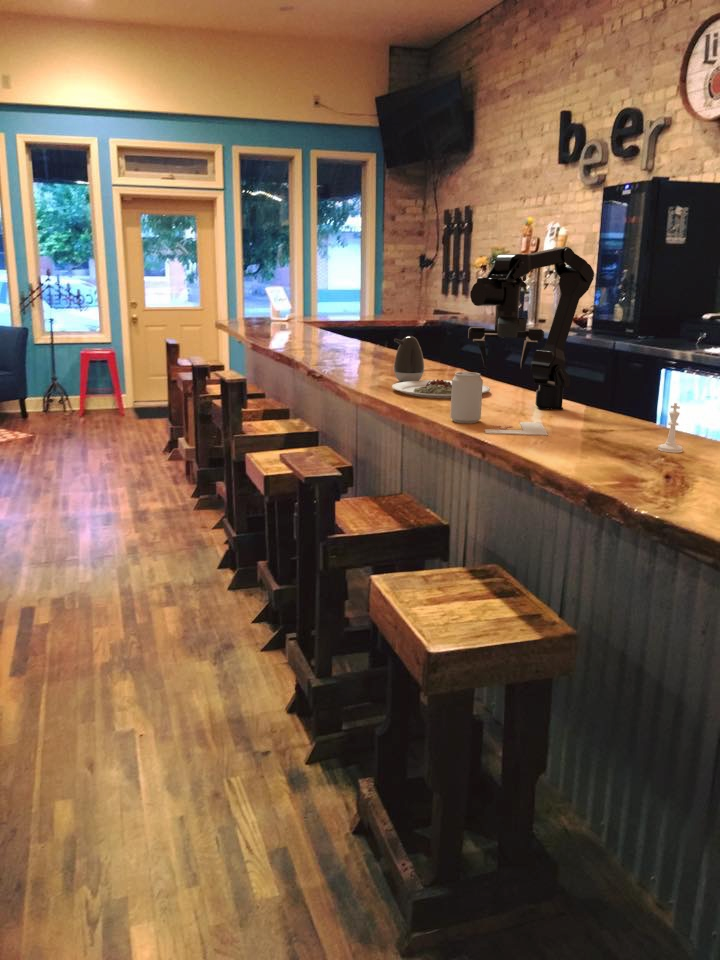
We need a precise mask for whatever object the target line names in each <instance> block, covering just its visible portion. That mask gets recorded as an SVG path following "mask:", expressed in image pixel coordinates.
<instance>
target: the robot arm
mask: <svg viewBox="0 0 720 960" xmlns="http://www.w3.org/2000/svg"><path fill="white" fill-rule="evenodd" d="M553 265H554V272H555V274H557V276H558V277H559V281H558V287H559V290H560V297H559V301H558V303H557V307H556V310H555V313H554V316H553V320H552V323H551V326H550V329H549V332H548V335H547V339H546V342H545V345H544V346H543V348H541V349H536V350H535V351H534V353H533V358H532V360H531V362H530V365H531V367H530V372H531V374H532V376H531V377H532V380H533V384H534V385H538V389H536V391H535V402H534V403H535V406H536V407H537V408H538V410H558V411H561V410H562V411H563V410H564V407H563V401H564V400H563V398H564V389H566V388H569V387H570V384H571V381H572V380H571V379H572V378H570V376H569V374H568V373H567V371H566V369H565V367H566V363H567V362H566V357H565V352H564V351H565V347H566V343H567V340H568V337H569V334H570V330H571V328H572V324H573V321H574V318H575V315H576V312H577V308H578V306H579V302H580V300H581V298H582V297H583V296H584V295H585V294H586V293H587V292H588V291H589V290H590V287H591V285H592V283H593V280H594V277H595V272H594V270H593V269H594V268H593V266H592V265H591V264H589V263H588V261H587V260H585V259H584V258H583V257H581V256H580V255H578V254H576V253H575V252H574V251H573V249H572V248H570V247H569V246H556V247H553V248H551V249H545V250H541V251H536V252H531V253H526V254H525V253H502V254H499V255H497V256H496V259H495V261H494V262H493V264H492V267H491V269H489V272H488V273H487V275H486V277H480V276H479V277H477V278H476V283H474V284H473V286H472V287H471V289H470V293H469V294H470V295H469V296H470V297H469V298H470V300H471V303H472V305H474V306H477V307H484V306H485V307H495V313H494V314H495V315H494V316H495V317H494V328H493V329H486V328H485V326H470V327H469V328H468V330H467V331H468V333H467V339H468V340H472V342H473V343H475V344H477V345H478V348H479V351H480V354H481V358H482V362H483V367H484V368H487V349H486V347H487V346H486V340H485V338H512V339H513V338H514V339H515V338H516V339H517V338H518V339H525V340H524V342H523V348H522V353H521V359H520V369H521V370H522V369H523V368H524V366H525V363H526V361H527V358H528V356H529V353H530V352H531V350H532V348H533V347H534V345H538V344H539V342H544V341H545V331H544V330H543V329H542V328H539V327H537V328H536V327H527V317H522V316H521V317H520V316H519V313H520V311H519V310H520V309H519V308H520V307H519V306H520V297H521V296H520V295H521V294H520V293H521V288H526V287H527V285H528V284H526V282H525V281H524V280H523V279H522V277H524V276H526V275H528V274H529V273H530V272H531V271H533V270H536V269H540V268H545V267H550V266H553ZM538 341H539V342H538Z"/></svg>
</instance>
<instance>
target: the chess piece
mask: <svg viewBox="0 0 720 960" xmlns="http://www.w3.org/2000/svg"><path fill="white" fill-rule="evenodd" d="M677 405H678V403H677V402H674V404H673V405H670V409H673V410H671V411H669V418H670V421H669V422H667V425H669V427H670V428H669V431H668V435H667V439H666V441H665V442H664V443H662V444H661V443H660V444H659V445H658V446H657V450H658V451H661V452H663V453H670V454H671V453H672V454H673V453H674V454H677V453H682V452H683V451H684V450H683V446H681V445H679V444H678V442H676V426H679V425H680V424H679V423H678V422H677V421H678V418H679V416H680V414H681V413H680V412H679V411H677V409H678V410H679V409H680V407H681V406H677Z"/></svg>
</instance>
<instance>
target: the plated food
mask: <svg viewBox="0 0 720 960" xmlns="http://www.w3.org/2000/svg"><path fill="white" fill-rule="evenodd" d="M391 388H392V389H393V390H394V391H398V392H401V393H403V394H406V395H408V396H414V397H420V398H430V399H451V393H452V380H444V379H439V378H437V379H433V380H431V379H430V380H429V379H428V380H424V379H423V380H419V381H407V382H401V381H399V382H396V383H394V384H392V385H391ZM490 391H491V387H489V386H488V385H486V384H485V385H484V384H483V386H482V394H485V393H489V392H490Z"/></svg>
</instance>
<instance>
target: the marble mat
mask: <svg viewBox="0 0 720 960" xmlns="http://www.w3.org/2000/svg"><path fill="white" fill-rule="evenodd" d="M519 424H520V427H521V429H522V430H521V429H520V430H518V429H515V430H514V429H508V428H513V426H512V425H504V427H501V425H498V424H496V425H492V427H493V428H499V429H488V428H485V429H484V433H485V434H488V435H489V434H490V435H491V434H492V435H494V434H495V435H517V436H519V435H521V436H524V435H525V436H548V435H549V434H548V432H547V430H546V428H545V427H544V426H543V424H542V422H528V421H524V422H522V421H520V422H519Z"/></svg>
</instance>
